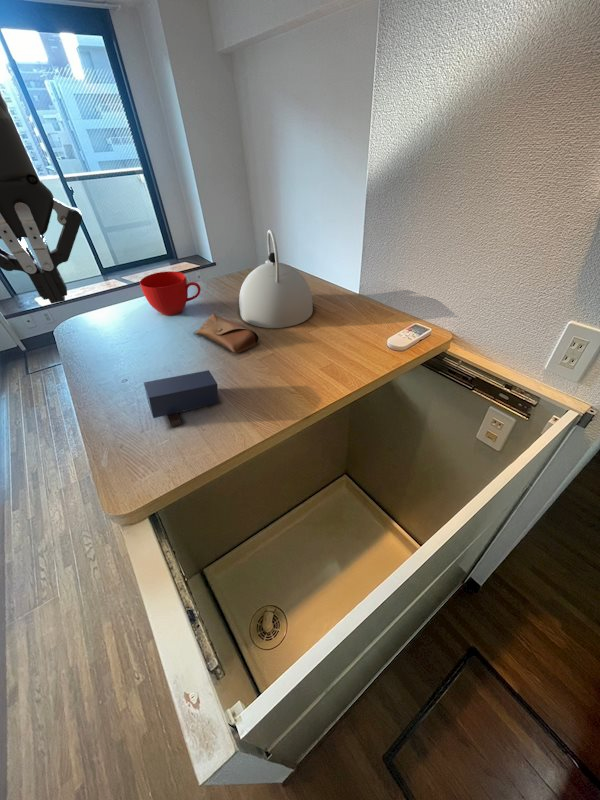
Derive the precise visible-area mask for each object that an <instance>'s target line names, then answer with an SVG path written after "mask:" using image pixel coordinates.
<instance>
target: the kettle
mask: <svg viewBox="0 0 600 800" xmlns="http://www.w3.org/2000/svg"><path fill="white" fill-rule="evenodd" d="M266 235H267V237H266V238H267V239H266V240H267V241H266V242H267V253H268V259H266V260H265V263H262V264H260V265H259V266H257V267H256V268H254V269H253V270H252V271H251V272H250V273H249V274H248V275H247V276H246V277H245V279H244V280H243V282H242V285H241V287H240V290H239V296H238V304H239V305H238V306H239V315H240V317H241V319H242V320H243V321H244V322H246V323H247V324H249V325H251V326H255V327H259V328H265V329H282V328H289V327H293V326H296V325H299V324H301V323H303V322H305V321H307V320H309V318H311V316H312V315H313V311H314V308H313V307H314V306H313V295H312V290H311V287H310V284H309V283H308V281H307V280H306V278H305V277H304V275H303V274H301V273H300V271H298V270H297V269H296V268H294V267H293V266H291V265H289V264H287V263H285V262H280V261H279V253H278V246H277V240H276V237H275V236H276V235H275V234H274V232H273V230H272V229H268V230H267V234H266ZM271 240H272V241H271ZM271 242H272V246H273V252H272V249H271Z"/></svg>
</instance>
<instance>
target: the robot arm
mask: <svg viewBox="0 0 600 800" xmlns="http://www.w3.org/2000/svg"><path fill="white" fill-rule="evenodd" d="M53 210H54V212H55V213H56V220H57V222H58V223H59V224H60V225H61V226H62V228H61V231H60V234H59V237H58V240H57V243H56V247H55V248H54V249H52V250H50V247H49V244H48V242H47V239H46V236H45V234H46V233H47V231H48V229H49V226H50V225H49V224H50V220H51V218H52V217H51V216H52V213H53ZM82 222H83V217H82V213H81V210H80V209H79V208H78V207H76V206H69V205H67V204H65V203H63V202H61V201H59V200H57V199H56V198H54V195H53V193H52V191H51V190H50V189H49V188H48V187H47V186H46V185H45V184H44V183H43V181H42V180H41V178H40V176H39V174H38V172H37V169H36V168H35V165H34V163H33V160H32V159H31V157H30V154H29V152H28V149H27V147H26V145H25V143H24V141H23V139H22V136H21V134H20V132H19V130H18V127H17V125H16V123H15V121H14V118H13V116H12V114H11V112H10V110H9V107H8V104H7V102H6V100H5V99H4V96H3V93H2V92H1V91H0V240H2V242H3V243H4V244H5V246H6V247H7V249H8V250H9V252H10V253H9V252H8V251H6V249H5V250H4V249H3V248H1V247H0V268H1V269H2V270H4V271H6V272H12V271H19V272H23V273H25V274H26V275H27V276H28V277H29V279H30V280H31V281H30V282H32V284H33V286H34V288H35V290H36V291H37V294H38V295H39V297H40V298H41V299H43V300H48V301H49V302H50V304H51V305H52V304H57V303H61V302H66V297H67V296H68V287H67V284H66V283H65V280H64V279H63V276H62V275H61V273H60V271H59V269H58V267H59V265H61V264H63V263H67V262H68V261H69V260H70V256H71V253H72V251H73V247H74V244H75V241H76V238H77V235H78V233H79V230H80V226H81V224H82ZM24 238H26V239H28V242H29V244H30V247H31V249H32V250H33V252H34V254H35V256H36V258H35V256H34V254H33V253H32V252H31V249H30V248H29V246H28V244H27V242H26V240H25V239H24Z"/></svg>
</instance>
